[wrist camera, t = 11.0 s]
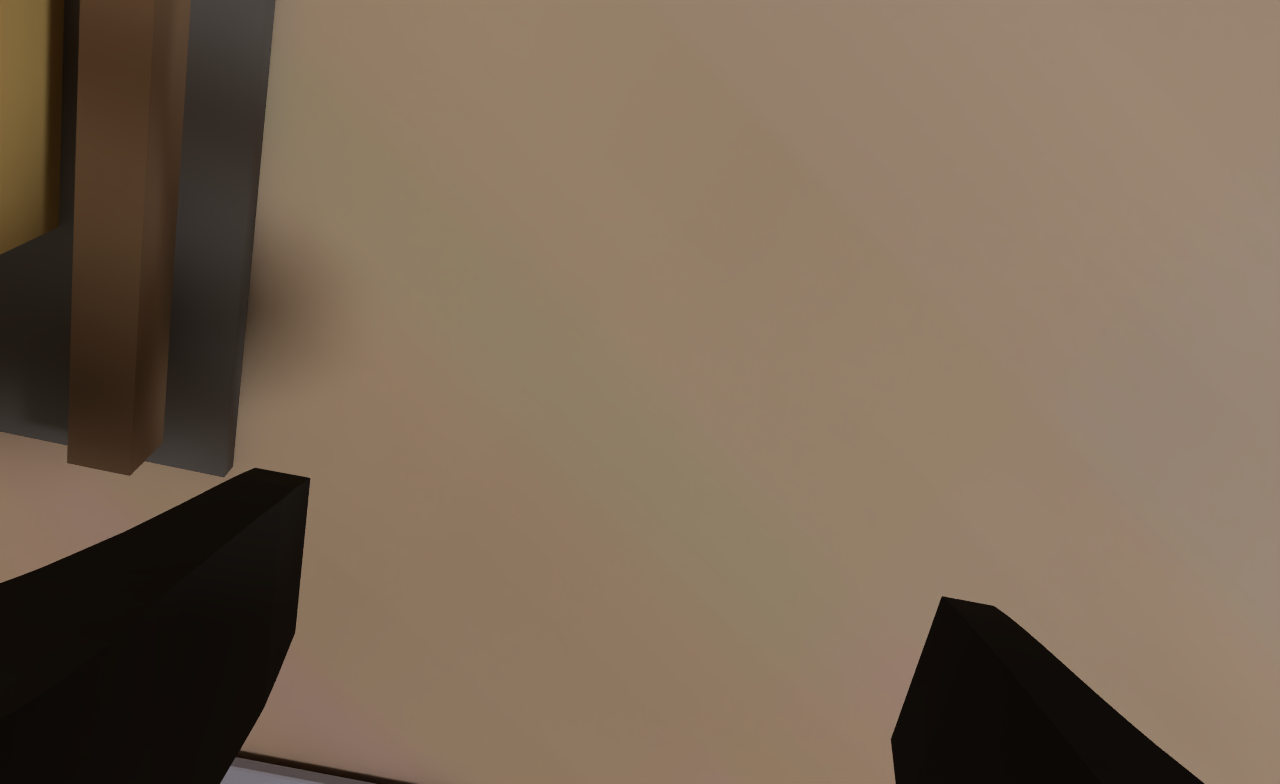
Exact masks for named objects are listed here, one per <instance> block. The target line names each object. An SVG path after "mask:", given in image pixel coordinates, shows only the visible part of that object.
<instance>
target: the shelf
mask: <svg viewBox="0 0 1280 784" xmlns="http://www.w3.org/2000/svg"><path fill="white" fill-rule="evenodd" d="M274 9H275V0H64V34H63V76H62V119H61V161H60V203H59V227H58V228H56V229H53V230H51V231H49V232H47V233H45V234H43V235H41V236H39V237H36V238H34V239H32V240H30V241H28V242H26V243H24V244H22V245H20V246H17V247H15V248H13V249H11V250H9V251H7V252H5V253H3V254H0V432H5V433H10V434H15V435H20V436H25V437H30V438H35V439H40V440H44V441H49V442H54V443H59V444H64V445H68V453H67V463H70V464H75V465H80V466H84V467H89V468H94V469H99V470H104V471H109V472H114V473H119V474H124V475H129V476H130V475H131V474H132V473H133V472H134V471H135V470H136V469H137V468H138V467H139V466H140V465H141V464H142V463H143V462H144V461H147V462H152V463H157V464H162V465H167V466H171V467H176V468H181V469H186V470H191V471H196V472H201V473H206V474H210V475H215V476H220V477H225V476H226V474H227V473H228V472H229V471H230V469H231V468H232V467H233V459H234V448H235V437H236V426H237V415H238V404H239V393H240V382H241V371H242V360H243V349H244V338H245V327H246V316H247V305H248V294H249V283H250V272H251V261H252V250H253V239H254V229H255V218H256V207H257V196H258V185H259V174H260V163H261V152H262V141H263V130H264V119H265V108H266V97H267V86H268V75H269V64H270V53H271V42H272V31H273V20H274Z"/></svg>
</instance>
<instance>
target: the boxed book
mask: <svg viewBox="0 0 1280 784" xmlns="http://www.w3.org/2000/svg"><path fill="white" fill-rule="evenodd" d="M63 34H64V0H0V254H3V253H5V252H7V251H9V250H11V249H13V248H15V247H17V246H20V245H22V244H24V243H26V242H28V241H30V240H32V239H34V238H36V237H39V236H41V235H43V234H45V233H47V232H49V231H51V230H53V229H56V228H58V227H59V203H60V161H61V119H62V76H63Z"/></svg>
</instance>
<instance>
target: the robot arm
mask: <svg viewBox="0 0 1280 784" xmlns="http://www.w3.org/2000/svg"><path fill="white" fill-rule="evenodd" d="M309 486H310V478H307V477H302V476H296V475H291V474H286V473H280V472H275V471H270V470H264V469H259V468H254V469H251V470H249V471H246V472H244V473H242V474H240V475H238V476H235V477H233V478H231V479H229V480H227V481H225V482H223V483H221V484H219V485H217V486H215V487H213V488H211V489H209V490H207V491H206V492H204V493H202V494H200V495H198V496H196V497H194V498H192V499H190V500H188V501H186V502H184V503H182V504H180V505H178V506H176V507H174V508H172V509H170V510H168V511H166V512H164V513H162V514H160V515H158V516H156V517H154V518H152V519H150V520H148V521H146V522H143V523H141V524H139V525H137V526H135V527H133V528H131V529H129V530H127V531H125V532H123V533H121V534H118V535H116V536H114V537H111V538H109V539H107V540H105V541H102V542H100V543H98V544H95V545H93V546H91V547H88V548H86V549H84V550H82V551H79V552H77V553H75V554H72V555H70V556H68V557H65V558H63V559H61V560H59V561H56V562H54V563H52V564H49V565H47V566H45V567H42V568H40V569H37V570H34V571H32V572H29V573H27V574H24V575H21V576H19V577H16V578H13V579H11V580H8V581H5V582H2V583H0V784H375V783H370V782H364V781H359V780H354V779H348V778H343V777H338V776H333V775H327V774H322V773H317V772H311V771H306V770H301V769H296V768H290V767H285V766H280V765H274V764H269V763H264V762H259V761H253V760H248V759H243V758H237V757H236V756H237V754H238V752H239V751H240V749H241V747H242V745H243V744H244V742H245V740H246V738H247V737H248V735H249V733H250V732H251V730H252V728H253V726H254V725H255V723H256V721H257V719H258V718H259V716H260V714H261V712H262V710H263V709H264V706H265V704H266V702H267V699H268V697H269V695H270V692H271V690H272V688H273V685H274V683H275V681H276V678H277V676H278V674H279V671H280V669H281V666H282V664H283V661H284V659H285V656H286V654H287V651H288V649H289V646H290V644H291V642H292V639H293V637H294V634H295V629H296V619H297V609H298V598H299V588H300V578H301V568H302V557H303V547H304V537H305V527H306V516H307V506H308V496H309ZM891 744H892V753H893V762H894V771H895V780H896V784H1204V783H1203V782H1202V781H1201V780H1199V779H1198V778H1197V777H1196V776H1194V775H1193V774H1192V773H1191V772H1189V771H1188V770H1187V769H1186V768H1184V767H1183V766H1182V765H1181V764H1179V763H1178V762H1177V761H1176V760H1174V759H1173V758H1172V757H1171V756H1169V755H1168V754H1167V753H1166V752H1164V751H1163V750H1162V749H1161V748H1159V747H1158V746H1157V745H1156V744H1154V743H1153V742H1152V741H1151V740H1150V739H1149V738H1147V737H1146V736H1145V735H1144V734H1143V733H1141V732H1140V731H1139V730H1138V729H1137V728H1135V727H1134V726H1133V725H1132V724H1131V723H1130V722H1128V721H1127V720H1126V719H1125V718H1124V717H1123V716H1122V715H1120V714H1119V713H1118V712H1117V711H1116V710H1115V709H1113V708H1112V707H1111V706H1110V705H1109V704H1108V703H1107V702H1106V701H1104V700H1103V699H1102V698H1101V697H1100V696H1099V695H1098V694H1096V693H1095V692H1094V691H1093V690H1092V689H1091V688H1090V687H1089V686H1087V685H1086V684H1085V683H1084V682H1083V681H1082V680H1081V679H1080V678H1079V677H1077V676H1076V675H1075V674H1074V673H1073V672H1072V671H1071V670H1070V669H1068V668H1067V667H1066V666H1065V665H1064V664H1063V663H1062V662H1061V661H1060V660H1058V659H1057V658H1056V657H1055V656H1054V655H1053V654H1052V653H1051V652H1050V651H1048V650H1047V649H1046V648H1045V647H1044V646H1043V645H1042V644H1041V643H1039V642H1038V641H1037V640H1036V639H1035V638H1034V637H1032V636H1031V635H1030V634H1029V633H1028V632H1027V631H1026V630H1024V629H1023V628H1022V627H1021V626H1020V625H1018V624H1017V623H1016V622H1015V621H1013V620H1012V619H1011V618H1010V617H1008V616H1007V615H1006V614H1004V613H1003V612H1002V611H1000V610H999V609H997V608H996V607H995V606H991V605H986V604H980V603H975V602H970V601H964V600H959V599H954V598H948V597H943V596H942V598H941V600H940V603H939V606H938V609H937V612H936V614H935V617H934V620H933V623H932V626H931V628H930V631H929V634H928V637H927V640H926V642H925V645H924V648H923V651H922V654H921V656H920V659H919V662H918V665H917V668H916V670H915V673H914V676H913V679H912V682H911V684H910V687H909V690H908V693H907V696H906V698H905V701H904V704H903V707H902V710H901V712H900V715H899V718H898V721H897V724H896V726H895V729H894V732H893V735H892V738H891Z"/></svg>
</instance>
